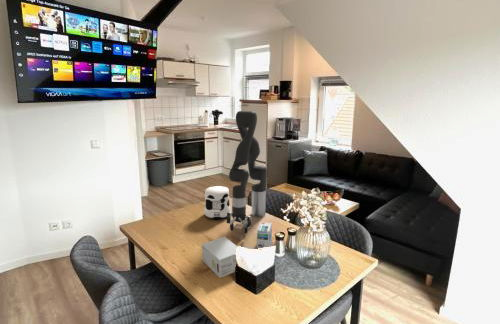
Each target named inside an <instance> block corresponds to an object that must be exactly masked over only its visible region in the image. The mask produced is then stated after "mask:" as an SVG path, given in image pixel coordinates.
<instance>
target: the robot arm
mask: <svg viewBox="0 0 500 324" xmlns="http://www.w3.org/2000/svg"><path fill="white" fill-rule="evenodd" d="M235 122H236V127H237V130H238V131H239V135H240V138H241V141H240V142H239V143H238V145H237V147H236V151H235V156H234V161H233V164H232V165H231V166H232V167H231V168H230V170H229V173H228V176H229V180H230V181H231V182H237V183H240V184H237V185H236V184H235V185H234V186H232V197H231V198H232V199H231V211H230V212H229V213H227V217H226V223H227V224H229V230H230V231H231V232H233V227H234V226H235V225H234V224H235V223H238V224H243V225H244V227H245V235H247V234H248V233H249V228H251V226H252V216H253V217H256V218H259V217H261V218H263V217H265V216H266V209H267V208H266V204H267V203H266V199H267V196H266V195H267V177H268V170H267V167H266V166H264V165H263V166H262V165H261V166H260V165H256V163H255V162H256V161H257V159H258V157H259V155H260V153H261V149H260V145H259V141H258V140H257V138H256V137H255V136H254V134H255V131H256V127H257V123H258V115H257V113H256V111H251V110H238V111H237V112H236V114H235ZM246 165H247V166H248V170H247V169H245V168H244V169H243V168H240V167H241V166H246ZM249 179H251V180H255V181H259V182H258V183H254V184H252V186H251V215H246V212H247V201H246V200H247V199H246V191H247V190H246V188H247V185H248V182H249ZM234 222H235V223H234Z"/></svg>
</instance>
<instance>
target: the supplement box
mask: <svg viewBox="0 0 500 324" xmlns="http://www.w3.org/2000/svg"><path fill="white" fill-rule="evenodd" d="M237 247H239V246H238V245H236V244H235V243H234V242H232V241H231V240H230V239H229V238H227V237H226V236H221V237H218V238H216V239H213V240H210V241H207V242H204V243H201V253H202V254H201V255H202V257H201V258H202V262H203V263H204V264H205V265H206V266H207V267H208V268H209V269H211V271H212V272H213V273H214V274H215V275H216V276H217V277H218V278H219V279H220V278H223V277H226V276H229V275H230V274H234V273H235V267H236V255H235V250H236V248H237Z"/></svg>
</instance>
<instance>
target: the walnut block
mask: <svg viewBox="0 0 500 324" xmlns="http://www.w3.org/2000/svg"><path fill="white" fill-rule="evenodd" d="M232 233H233V234H232V238H233V239H235V240H239V241H242V240H243V239H244V238H245V237H246V234H245V227H244V225H243V224H242V223H239V222H236V224H235V225H234V227H233V231H232Z"/></svg>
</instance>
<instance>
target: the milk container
mask: <svg viewBox="0 0 500 324" xmlns="http://www.w3.org/2000/svg"><path fill="white" fill-rule="evenodd" d="M204 191H205V192H204V201H205V203H204V208H203V211H204V215H205V216H206V217H207V218H208V219H212V220H213V219H214V220H220V219H224V218H227V213H229V212H231V211H232V206H231V204H230V190H229V188H228V187H226V186H221V185H217V186H215V185H214V186H209V187H207V188H206V189H205V190H204Z"/></svg>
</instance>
